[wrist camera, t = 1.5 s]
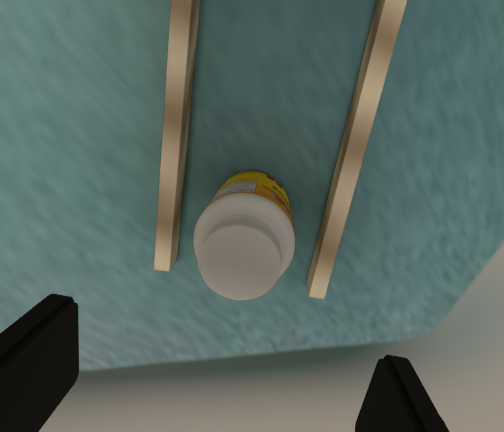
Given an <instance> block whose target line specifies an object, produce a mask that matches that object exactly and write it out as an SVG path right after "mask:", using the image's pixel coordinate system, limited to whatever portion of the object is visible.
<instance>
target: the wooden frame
mask: <svg viewBox="0 0 504 432" xmlns="http://www.w3.org/2000/svg"><path fill="white" fill-rule="evenodd" d="M406 2H407V0H377V3H376V7H375V11H374V15H373V19H372V23H371V27H370V31H369V35H368V39H367V43H366V47H365V51H364V55H363V59H362V63H361V67H360V71H359V75H358V79H357V83H356V87H355V91H354V95H353V99H352V103H351V107H350V111H349V115H348V119H347V123H346V127H345V131H344V135H343V139H342V143H341V147H340V151H339V155H338V158H337V162H336V166H335V170H334V174H333V178H332V182H331V186H330V190H329V194H328V198H327V202H326V206H325V210H324V214H323V218H322V222H321V226H320V230H319V234H318V238H317V242H316V246H315V250H314V254H313V258H312V262H311V266H310V270H309V274H308V278H307V282H306V284H307V289H308V295H309V297H315V298H320V299H324V298H325V294H326V291H327V287H328V284H329V280H330V276H331V273H332V269H333V266H334V262H335V258H336V255H337V251H338V247H339V244H340V240H341V237H342V233H343V229H344V226H345V222H346V219H347V215H348V211H349V208H350V204H351V201H352V197H353V193H354V190H355V186H356V183H357V179H358V175H359V172H360V168H361V165H362V161H363V157H364V154H365V150H366V147H367V143H368V139H369V136H370V132H371V129H372V125H373V121H374V118H375V114H376V111H377V107H378V103H379V100H380V96H381V93H382V89H383V85H384V82H385V78H386V75H387V71H388V67H389V64H390V60H391V57H392V53H393V49H394V46H395V42H396V39H397V35H398V31H399V28H400V24H401V20H402V17H403V13H404V10H405V6H406ZM199 9H200V0H171V14H170V29H169V45H168V60H167V76H166V91H165V107H164V123H163V138H162V154H161V169H160V185H159V201H158V216H157V232H156V247H155V263H154V269H157V270H162V271H168V272H169V271H170V270H171V268H172V267H173V265H174V264H175V262H176V261H177V252H178V241H179V230H180V219H181V208H182V197H183V186H184V175H185V164H186V153H187V141H188V130H189V119H190V108H191V97H192V86H193V75H194V64H195V53H196V42H197V31H198V20H199Z"/></svg>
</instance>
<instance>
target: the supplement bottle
mask: <svg viewBox="0 0 504 432" xmlns="http://www.w3.org/2000/svg"><path fill="white" fill-rule="evenodd" d="M193 243H194V250H195V254H196V257H197V259H198V265H199V270H200V273H201V276H202V278H203V279H204V281H205V283H206V284H207V285H208V286H209V287H210V288H211V289H212V290H213V291H214V292H216V293H217V294H219V295H221V296H223V297H226V298H228V299H232V300H251V299H254V298H258V297H260V296H262V295H264V294H265V293H267V292H268V291H269V290H270V289H271V288H272V287H273V286H274V285H275V283H276V282H277V280H278V278H279V277H280V276H281V275H282V274H283V273H284V272H285V271H286V269H287V268H288V266H289V265H290V263H291V260H292V258H293V254H294V250H295V234H294V228H293V222H292V217H291V211H290V206H289V200H288V197H287V194H286V191H285V189H284V188H283V186H282V185H281V184H280V182H279V181H278V180H276V179H275V178H274V177H273V176H271V175H269V174H267V173H265V172H261V171H256V170H247V171H242V172H239V173H237V174H235V175H233V176H231V177H230V178H228V179H227V180H226V181H225V182H224V184H223V185H222V186H221V187H220V189H219V190H218V192H217V193H216V194H215V196H214V197H213V199H212V200H211V201H210V203H209V204H208V206H207V207H206V208H205V210H204V211H203V213H202V214H201V216H200V218H199V220H198V222H197V224H196V227H195V231H194V237H193Z"/></svg>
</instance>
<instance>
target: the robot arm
mask: <svg viewBox="0 0 504 432" xmlns="http://www.w3.org/2000/svg"><path fill="white" fill-rule="evenodd" d="M78 374H79V339H78V305H77V303H74V300H73V298H72V297H69V296H63V295H58V294H50V295H49V296H47V297H46V298H45V299H43V300H42V301H41V302H40V303H38V304H37V305H36V306H34V307H33V308H32V309H31V310H29V311H28V312H27V313H26V314H24V315H23V316H22V317H21V318H19V319H18V320H17V321H16V322H14V323H13V324H12V325H10V326H9V327H8V328H7V329H5V330H4V331H3V332H2V333H0V432H38V431H39V430H40V429H41V427H42V426H43V425H44V424H45V422H46V421H47V420H48V418H49V417H50V416H51V414H52V413H53V411H54V410H55V409H56V407H57V406H58V405H59V404H60V402H61V401H62V399H63V398H64V397H65V395H66V394H67V393H68V391H69V390H70V389H71V387H72V386H73V385H74V383H75V382H76V379H77V377H78ZM355 432H449V430H448V428H447V427H446V425H445V423H444V421H443V420H442V418H441V417H440V415H439V414H438V412H437V410H436V408H435V407H434V405H433V403H432V401H431V399H430V397H429V396H428V394H427V392H426V390H425V388H424V387H423V385H422V383H421V381H420V379H419V377H418V376H417V374H416V372H415V370H414V368H413V366H412V365H411V363H410V361H409V360H408V359H406V358H403V357H398V356H392V355H386V356H385V357H384V359H379V360H378V362H377V365H376V368H375V371H374V373H373V376H372V379H371V382H370V384H369V387H368V390H367V393H366V396H365V399H364V401H363V404H362V407H361V410H360V412H359V415H358V418H357V421H356V426H355Z"/></svg>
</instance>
